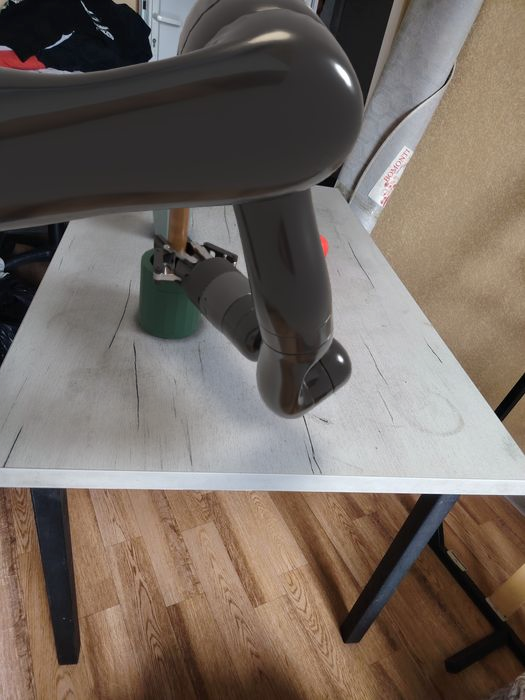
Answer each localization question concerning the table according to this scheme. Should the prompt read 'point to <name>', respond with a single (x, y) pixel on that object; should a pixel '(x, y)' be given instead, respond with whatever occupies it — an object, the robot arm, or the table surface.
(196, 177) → the robot arm
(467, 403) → the table surface
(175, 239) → the brown and grey cylinder
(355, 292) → the table surface
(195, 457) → the table surface
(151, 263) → the green cup
